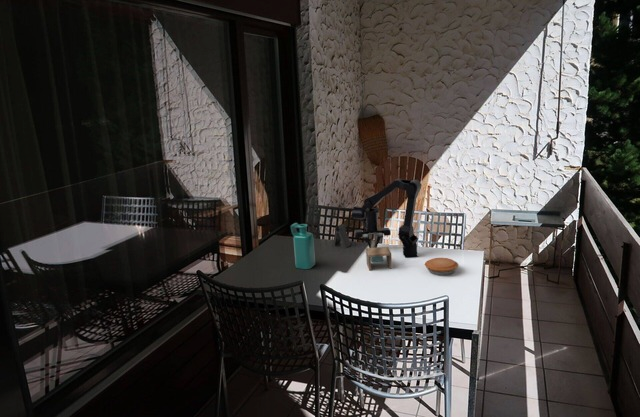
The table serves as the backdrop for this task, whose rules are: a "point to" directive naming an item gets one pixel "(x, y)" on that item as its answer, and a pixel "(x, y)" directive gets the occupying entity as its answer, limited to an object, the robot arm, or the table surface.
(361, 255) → the table surface
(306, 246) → the teal bottle
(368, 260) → the walnut shelf
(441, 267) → the pie
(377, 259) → the tethered block
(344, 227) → the phone stand
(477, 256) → the table surface
